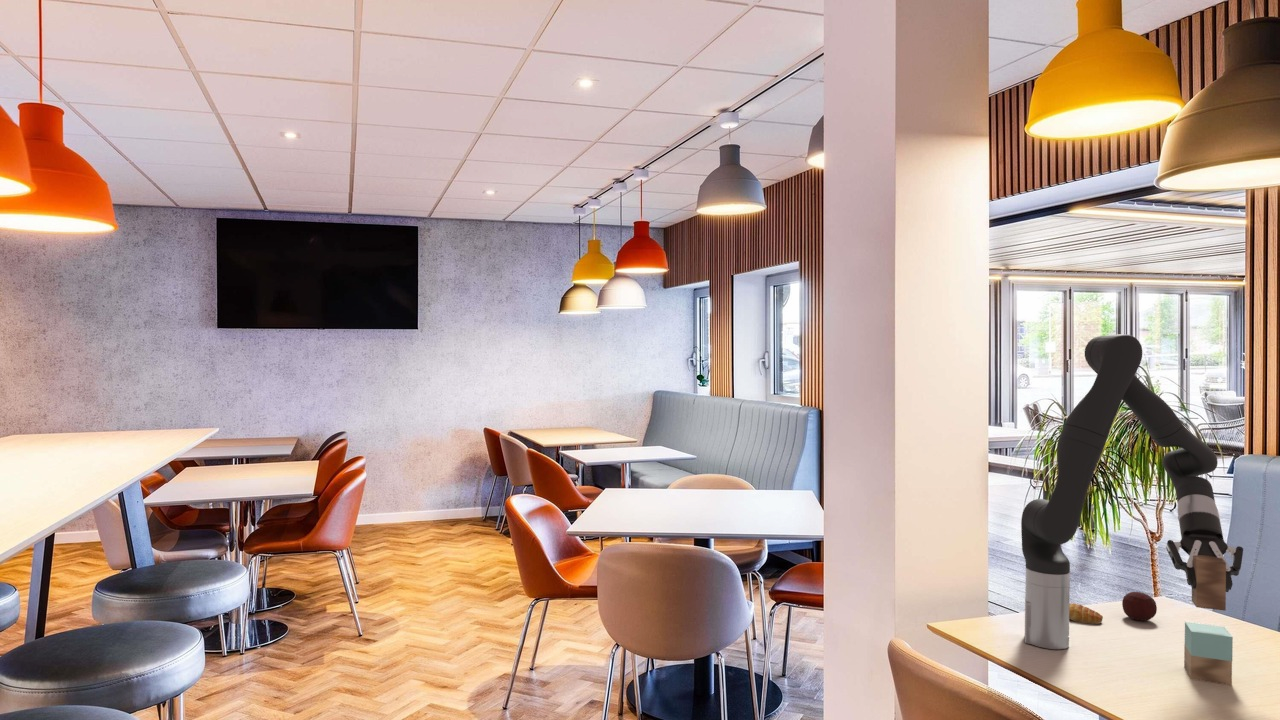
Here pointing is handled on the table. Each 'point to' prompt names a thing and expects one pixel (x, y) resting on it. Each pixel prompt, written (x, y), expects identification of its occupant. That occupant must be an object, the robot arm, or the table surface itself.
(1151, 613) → the potato
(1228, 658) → the tower top
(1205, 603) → the post
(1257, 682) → the table surface
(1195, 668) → the tower base
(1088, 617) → the pastry
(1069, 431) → the robot arm
